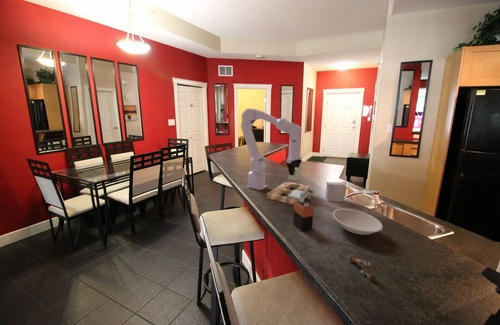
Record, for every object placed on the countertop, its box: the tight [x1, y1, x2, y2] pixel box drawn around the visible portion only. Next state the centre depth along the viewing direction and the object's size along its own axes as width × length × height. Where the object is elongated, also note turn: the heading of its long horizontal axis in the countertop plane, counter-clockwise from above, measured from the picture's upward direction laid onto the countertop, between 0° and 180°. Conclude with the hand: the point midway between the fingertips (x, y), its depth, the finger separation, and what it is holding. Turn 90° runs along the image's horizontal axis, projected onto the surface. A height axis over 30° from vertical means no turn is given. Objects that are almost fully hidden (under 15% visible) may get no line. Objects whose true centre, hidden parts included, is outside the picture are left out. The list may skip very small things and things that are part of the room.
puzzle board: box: [266, 181, 312, 206], centre depth 115 cm, size 18×24×2 cm
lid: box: [287, 189, 311, 201], centre depth 107 cm, size 8×10×3 cm
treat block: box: [287, 167, 301, 181], centre depth 118 cm, size 4×4×6 cm
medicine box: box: [325, 181, 347, 203], centre depth 107 cm, size 8×4×9 cm, turn 84°
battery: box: [292, 199, 314, 232], centre depth 82 cm, size 4×7×10 cm, turn 20°
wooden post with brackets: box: [347, 254, 372, 280], centre depth 60 cm, size 2×8×4 cm, turn 12°
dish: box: [332, 208, 384, 236], centre depth 79 cm, size 18×14×5 cm
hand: (293, 173), depth 118 cm, fingers closed on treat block, 4 cm apart
